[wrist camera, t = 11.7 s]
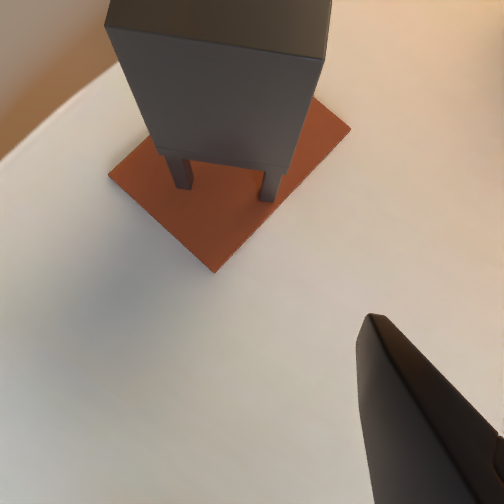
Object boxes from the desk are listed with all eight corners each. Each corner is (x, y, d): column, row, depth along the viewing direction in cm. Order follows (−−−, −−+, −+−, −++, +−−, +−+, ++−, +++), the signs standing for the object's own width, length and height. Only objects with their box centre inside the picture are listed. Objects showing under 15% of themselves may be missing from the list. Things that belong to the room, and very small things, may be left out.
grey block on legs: (276, 206, 23) (325, 60, 11) (172, 190, 23) (102, 25, 11) (289, 112, 24) (346, -115, 12) (191, 96, 24) (147, -148, 12)
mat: (350, 130, 25) (351, 128, 24) (214, 273, 23) (214, 273, 22) (248, 46, 26) (248, 42, 25) (108, 176, 23) (107, 174, 23)
